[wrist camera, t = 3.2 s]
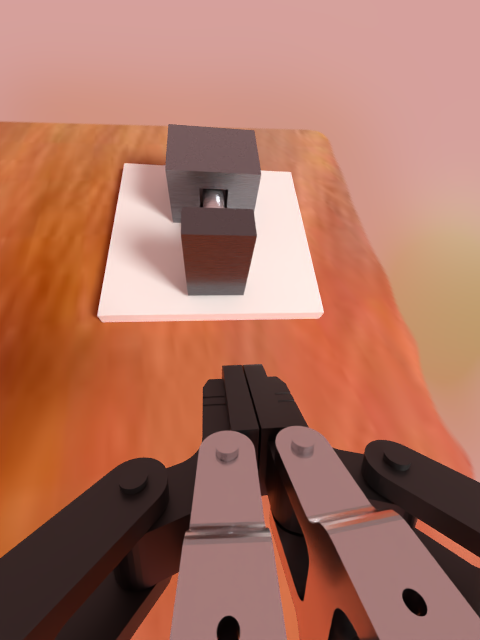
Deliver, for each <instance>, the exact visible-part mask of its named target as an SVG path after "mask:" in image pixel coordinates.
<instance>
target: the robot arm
mask: <svg viewBox="0 0 480 640" xmlns="http://www.w3.org/2000/svg"><path fill="white" fill-rule="evenodd" d="M263 495H268V498H269V502H270V526H271V529H272V533H273V536H274V539H275V543H276V546H277V549H278V553H279V556H280V559H281V563H282V566H283V570H284V573H285V576H286V580H287V583H288V586H289V590H290V593H291V596H292V600H293V603H294V607H295V611H296V615H297V621H298V629H299V638H300V640H480V568H477V567H475V566H473V565H471V564H470V563H468V562H467V561H465V560H464V559H462V558H461V557H459V556H458V555H456V554H454V553H453V552H451V551H450V550H448V549H447V548H445V547H444V546H442V545H441V544H439V543H438V542H436V541H435V540H433V539H432V538H430V537H428V536H427V535H425V534H424V533H422V532H421V531H419V530H418V529H416V528H415V525H416V522H417V519H420V520H421V521H423V522H424V523H426V524H428V525H429V526H431V527H432V528H434V529H435V530H437V531H439V532H440V533H442V534H443V535H445V536H447V537H448V538H450V539H451V540H453V541H454V542H456V543H458V544H459V545H461V546H462V547H464V548H466V549H467V550H469V551H470V552H472V553H474V554H475V555H477V556H478V557H480V483H479V482H477V481H475V480H473V479H471V478H469V477H467V476H465V475H463V474H461V473H459V472H457V471H455V470H453V469H451V468H449V467H447V466H444V465H442V464H440V463H438V462H436V461H434V460H432V459H430V458H428V457H426V456H424V455H422V454H420V453H418V452H416V451H414V450H412V449H410V448H408V447H406V446H403V445H401V444H399V443H396V442H392V441H387V440H376V441H372V442H370V443H369V444H368V445H367V446H366V448H365V452H364V454H360V453H354V452H348V451H343V450H338V449H335V448H332V447H331V445H330V444H329V442H328V441H327V440H326V438H325V437H324V436H323V435H321V434H320V433H319V432H317V431H315V430H313V429H311V428H309V427H308V425H307V423H306V422H305V420H304V418H303V416H302V414H301V412H300V410H299V408H298V406H297V404H296V403H295V402H294V399H293V397H292V395H291V394H290V391H289V389H288V387H287V385H286V384H285V383H284V382H283V381H282V380H280V379H279V378H278V377H267V375H266V372H265V370H264V368H263V365H262V364H254V365H229V366H222V379H210V380H208V381H207V383H206V384H205V386H204V387H203V437H202V443H201V446H200V448H199V450H198V451H197V452H196V453H195V454H194V455H193V456H192V457H191V458H189V459H188V460H186V461H184V462H182V463H180V464H177V465H174V466H172V467H169V468H165V466H164V465H163V464H162V463H161V462H159V461H158V460H155V459H152V458H136V459H132V460H129V461H126V462H124V463H122V464H120V465H119V466H117V467H116V468H114V469H113V470H112V471H110V472H109V473H108V474H107V475H105V476H104V477H103V478H102V479H100V480H99V481H98V482H97V483H95V484H94V485H93V486H91V487H90V488H89V489H88V490H86V491H85V492H84V493H83V494H81V495H80V496H79V497H78V498H76V499H75V500H74V501H72V502H71V503H70V504H69V505H67V506H66V507H65V508H64V509H62V510H61V511H60V512H58V513H57V514H56V515H55V516H53V517H52V518H51V519H50V520H48V521H47V522H46V523H45V524H43V525H42V526H41V527H39V528H38V529H37V530H36V531H34V532H33V533H32V534H31V535H29V536H28V537H27V538H26V539H24V540H23V541H22V542H20V543H19V544H18V545H17V546H15V547H14V548H13V549H12V550H10V551H9V552H8V553H7V554H5V555H4V556H3V557H1V558H0V640H130V639H131V637H132V636H133V635H134V633H135V632H136V630H137V629H138V627H139V626H140V624H141V623H142V622H143V620H144V619H145V617H146V616H147V614H148V613H149V612H150V610H151V609H152V607H153V606H154V604H155V603H156V601H157V600H158V599H159V597H160V596H161V594H162V593H163V591H164V590H165V588H166V587H167V585H168V584H169V582H170V580H171V577H172V575H174V574H176V573H178V572H179V576H178V583H177V590H176V597H175V605H174V612H173V619H172V627H171V634H170V640H287V637H286V631H285V624H284V617H283V610H282V604H281V597H280V590H279V583H278V577H277V570H276V563H275V556H274V550H273V543H272V538H271V534H270V530H269V528H266V527H265V522H264V515H263V507H262V500H261V496H263Z"/></svg>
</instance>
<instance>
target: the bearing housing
mask: <svg viewBox="0 0 480 640" xmlns="http://www.w3.org/2000/svg"><path fill="white" fill-rule="evenodd" d="M165 171H166V178H167V185H168V192H169V199H170V206H171V213H172V220H173V223H181V208H182V207H203V188H207V189H223V193H224V208H233V209H253V210H255V205H256V200H257V195H258V190H259V184H260V179H261V169H260V163H259V157H258V151H257V145H256V138H255V132H254V130H240V129H226V128H213V127H199V126H186V125H172V124H169V125H168V139H167V152H166V166H165Z"/></svg>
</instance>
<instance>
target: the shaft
mask: <svg viewBox="0 0 480 640" xmlns="http://www.w3.org/2000/svg"><path fill="white" fill-rule="evenodd" d="M256 238H257V232H256V225H255V217H254V210H253V209H233V208H224V193H223V189H207V188H203V207H182V208H181V241H182V250H183V258H184V267H185V275H186V284H187V292H188V296H200V295H244V291H245V287H246V282H247V278H248V274H249V269H250V265H251V260H252V256H253V251H254V247H255V243H256Z"/></svg>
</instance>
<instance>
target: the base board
mask: <svg viewBox="0 0 480 640" xmlns="http://www.w3.org/2000/svg"><path fill="white" fill-rule="evenodd" d="M165 166H166V165H148V164H129V163H124V169H123V174H122V180H121V186H120V191H119V197H118V202H117V208H116V213H115V219H114V225H113V230H112V236H111V241H110V247H109V253H108V258H107V264H106V269H105V275H104V281H103V286H102V292H101V297H100V303H99V309H98V314H97V316H98V317H99V319H100V320H101V321H102V322H143V321H201V320H258V319H316V318H320V317H321V315H322V314H323V313H324V311H323V306H322V302H321V298H320V294H319V290H318V285H317V281H316V277H315V273H314V268H313V264H312V260H311V256H310V252H309V247H308V243H307V239H306V235H305V231H304V226H303V222H302V218H301V214H300V209H299V205H298V201H297V197H296V193H295V188H294V184H293V180H292V176H291V172H276V171H261V179H260V184H259V190H258V195H257V200H256V205H255V210H254V217H255V225H256V232H257V238H256V243H255V247H254V251H253V256H252V260H251V265H250V269H249V274H248V278H247V282H246V287H245V291H244V295H200V296H188V292H187V284H186V275H185V267H184V258H183V250H182V241H181V223H173V220H172V213H171V206H170V199H169V192H168V185H167V178H166V171H165Z"/></svg>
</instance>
